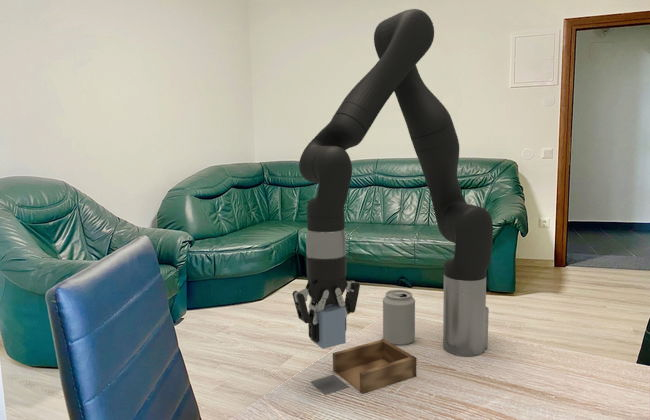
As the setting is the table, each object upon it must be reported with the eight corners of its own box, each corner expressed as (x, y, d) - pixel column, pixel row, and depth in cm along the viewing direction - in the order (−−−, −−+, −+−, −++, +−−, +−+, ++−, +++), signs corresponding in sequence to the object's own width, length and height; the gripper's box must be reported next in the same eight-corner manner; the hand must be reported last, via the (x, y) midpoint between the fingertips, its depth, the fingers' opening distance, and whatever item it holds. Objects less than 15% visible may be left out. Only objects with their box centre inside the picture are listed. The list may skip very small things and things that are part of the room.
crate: (383, 358, 111) (383, 339, 110) (416, 378, 101) (416, 357, 101) (333, 373, 104) (332, 353, 104) (362, 396, 95) (362, 374, 94)
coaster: (333, 377, 103) (333, 374, 103) (349, 389, 98) (349, 386, 97) (310, 384, 100) (310, 381, 100) (325, 397, 95) (325, 394, 95)
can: (414, 348, 115) (414, 298, 113) (381, 346, 117) (381, 297, 115) (415, 335, 122) (415, 288, 121) (384, 334, 124) (384, 287, 122)
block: (332, 334, 101) (331, 300, 100) (345, 343, 96) (345, 308, 95) (310, 339, 98) (309, 305, 97) (323, 348, 94) (322, 313, 93)
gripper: (347, 244, 101) (348, 324, 104) (283, 253, 94) (285, 339, 97) (369, 251, 95) (369, 336, 98) (301, 261, 88) (303, 353, 91)
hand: (327, 337), depth 97 cm, fingers closed on block, 5 cm apart
